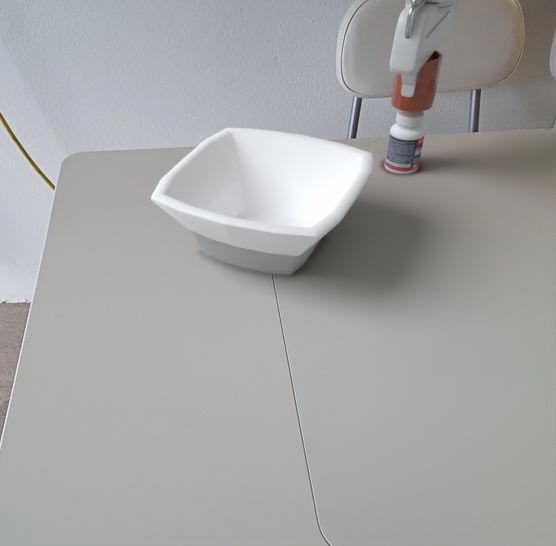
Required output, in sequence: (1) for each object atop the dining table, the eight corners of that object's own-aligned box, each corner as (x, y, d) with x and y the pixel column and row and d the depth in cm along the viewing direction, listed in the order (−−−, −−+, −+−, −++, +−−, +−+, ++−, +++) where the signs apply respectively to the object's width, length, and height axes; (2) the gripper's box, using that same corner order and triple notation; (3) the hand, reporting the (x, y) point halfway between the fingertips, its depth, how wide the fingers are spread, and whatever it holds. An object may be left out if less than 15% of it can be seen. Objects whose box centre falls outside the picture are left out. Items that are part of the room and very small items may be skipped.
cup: (411, 92, 99) (420, 44, 94) (441, 105, 95) (451, 56, 91) (382, 102, 97) (389, 53, 92) (411, 115, 93) (420, 65, 88)
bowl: (376, 215, 93) (387, 148, 86) (316, 317, 77) (323, 245, 70) (225, 183, 102) (224, 120, 95) (142, 269, 86) (133, 200, 79)
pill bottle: (416, 177, 101) (427, 121, 95) (382, 173, 102) (391, 118, 96) (419, 161, 104) (429, 107, 98) (386, 158, 106) (394, 104, 100)
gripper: (438, 3, 77) (417, 116, 87) (475, -37, 90) (453, 65, 100) (386, -2, 80) (371, 108, 89) (430, -40, 93) (412, 60, 102)
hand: (415, 85), depth 94 cm, fingers closed on cup, 6 cm apart
